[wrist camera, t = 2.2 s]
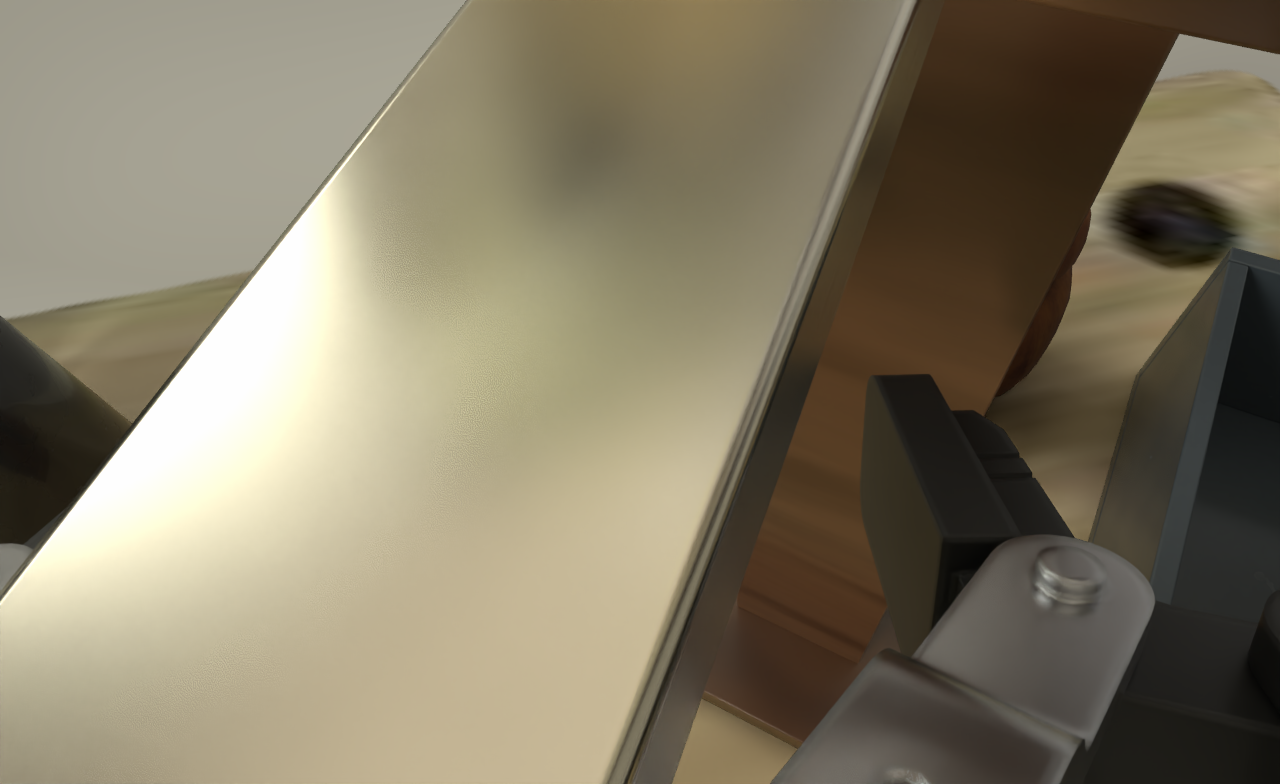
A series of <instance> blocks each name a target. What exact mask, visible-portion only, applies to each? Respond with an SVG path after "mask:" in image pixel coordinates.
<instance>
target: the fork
mask: <svg viewBox="0 0 1280 784" xmlns="http://www.w3.org/2000/svg"><path fill="white" fill-rule="evenodd" d="M944 2H945V0H466V1H465V3H464V4H463V5H462V7H461V8H460V9H459V10H458V12H457V13H456V14H455V16H454V17H453V18H452V19H451V20H450V22H449V23H448V24H447V26H446V27H445V28H444V29H443V31H442V32H441V33H440V34H439V36H438V37H437V38H436V40H435V41H434V42H433V43H432V45H431V46H430V47H429V48H428V50H427V51H426V52H425V54H424V55H423V56H422V57H421V58H420V60H419V61H418V62H417V64H416V65H415V66H414V67H413V69H412V70H411V71H410V73H409V74H408V75H407V76H406V78H405V79H404V80H403V82H402V83H401V84H400V85H399V86H398V88H397V89H396V90H395V92H394V93H393V94H392V95H391V97H390V98H389V99H388V101H387V102H386V103H385V104H384V105H383V107H382V108H381V109H380V110H379V112H378V113H377V114H376V116H375V117H374V118H373V120H372V121H371V122H370V123H369V124H368V126H367V127H366V128H365V130H364V131H363V132H362V133H361V135H360V136H359V137H358V138H357V140H356V141H355V142H354V143H353V145H352V146H351V148H350V149H349V150H348V151H347V152H346V154H345V155H344V156H343V158H342V159H341V160H340V161H339V162H338V164H337V165H336V166H335V168H334V169H333V170H332V171H331V173H330V174H329V175H328V176H327V178H326V179H325V180H324V181H323V183H322V184H321V185H320V187H319V188H318V189H317V190H316V192H315V193H314V194H313V195H312V197H311V198H310V199H309V201H308V202H307V203H306V205H305V206H304V207H303V208H302V209H301V211H300V212H299V213H298V214H297V216H296V217H295V218H294V220H293V221H292V222H291V223H290V225H289V226H288V227H287V228H286V230H285V231H284V232H283V233H282V235H281V236H280V237H279V239H278V240H277V241H276V243H275V244H274V245H273V246H272V247H271V249H270V250H269V251H268V253H267V254H266V255H265V256H264V258H263V259H262V260H261V261H260V263H259V264H258V265H257V266H256V268H255V269H254V270H253V272H252V273H251V274H250V275H249V277H248V278H247V279H246V280H245V282H244V283H243V284H242V285H241V287H240V288H239V289H238V291H237V292H236V293H235V294H234V296H233V297H232V298H231V299H230V301H229V302H228V303H227V304H226V306H225V307H224V308H223V310H222V311H221V312H220V313H219V315H218V316H217V317H216V318H215V320H214V321H213V322H212V324H211V325H210V326H209V327H208V329H207V330H206V331H205V332H204V334H203V335H202V336H201V337H200V339H199V340H198V341H197V343H196V344H195V345H194V346H193V348H192V349H191V350H190V351H189V353H188V354H187V355H186V356H185V358H184V359H183V360H182V362H181V363H180V364H179V365H178V367H177V368H176V369H175V370H174V372H173V373H172V374H171V375H170V377H169V378H168V379H167V381H166V382H165V383H164V384H163V386H162V387H161V388H160V389H159V391H158V392H157V393H156V395H155V396H154V397H153V398H152V400H151V401H150V402H149V403H148V405H147V406H146V407H145V408H144V410H143V411H142V412H141V414H140V415H139V416H138V417H137V419H136V420H135V421H134V422H133V424H132V425H131V426H130V427H129V429H128V430H127V431H126V433H125V434H124V435H123V436H122V438H121V439H120V440H119V441H118V443H117V444H116V445H115V446H114V448H113V449H112V450H111V452H110V453H109V454H108V455H107V457H106V458H105V459H104V460H103V462H102V463H101V464H100V466H99V467H98V468H97V469H96V471H95V472H94V473H93V474H92V476H91V477H90V478H89V479H88V481H87V482H86V483H85V485H84V486H83V487H82V488H81V490H80V491H79V492H78V493H77V495H76V496H75V497H74V498H73V500H72V501H71V502H70V504H69V505H68V506H67V507H66V509H65V510H64V511H63V512H62V514H61V515H60V516H59V518H58V519H57V520H56V521H55V523H54V524H53V525H52V526H51V528H50V529H49V530H48V531H47V533H46V534H45V535H44V537H43V538H42V539H41V540H40V542H39V543H38V544H37V545H36V547H35V548H34V549H33V550H32V552H31V553H30V554H29V556H28V557H27V558H26V559H25V561H24V562H23V563H22V564H21V566H20V567H19V568H18V569H17V571H16V572H15V573H14V575H13V576H12V577H11V578H10V580H9V581H8V582H7V583H6V585H5V586H4V587H3V589H2V590H1V591H0V784H672V781H673V778H674V776H675V773H676V770H677V767H678V764H679V761H680V758H681V755H682V753H683V750H684V747H685V744H686V741H687V738H688V735H689V733H690V730H691V727H692V724H693V721H694V718H695V715H696V713H697V710H698V707H699V704H700V701H701V698H702V695H703V692H704V690H705V687H706V684H707V681H708V678H709V675H710V672H711V670H712V667H713V664H714V661H715V658H716V655H717V652H718V650H719V647H720V644H721V641H722V638H723V635H724V632H725V629H726V627H727V624H728V621H729V618H730V615H731V612H732V609H733V607H734V604H735V601H736V598H737V595H738V592H739V589H740V586H741V584H742V581H743V578H744V575H745V572H746V569H747V566H748V564H749V561H750V558H751V555H752V552H753V549H754V546H755V544H756V541H757V538H758V535H759V532H760V529H761V526H762V523H763V521H764V518H765V515H766V512H767V509H768V506H769V503H770V501H771V498H772V495H773V492H774V489H775V486H776V483H777V481H778V478H779V475H780V472H781V469H782V466H783V463H784V460H785V458H786V455H787V452H788V449H789V446H790V443H791V440H792V438H793V435H794V432H795V429H796V426H797V423H798V420H799V418H800V415H801V412H802V409H803V406H804V403H805V400H806V397H807V395H808V392H809V389H810V386H811V383H812V380H813V377H814V375H815V372H816V369H817V366H818V363H819V360H820V357H821V355H822V352H823V349H824V346H825V343H826V340H827V337H828V334H829V332H830V329H831V326H832V323H833V320H834V317H835V314H836V312H837V309H838V306H839V303H840V300H841V297H842V294H843V292H844V289H845V286H846V283H847V280H848V277H849V274H850V271H851V269H852V266H853V263H854V260H855V257H856V254H857V251H858V249H859V246H860V243H861V240H862V237H863V234H864V231H865V229H866V226H867V223H868V220H869V217H870V214H871V211H872V208H873V206H874V203H875V200H876V197H877V194H878V191H879V188H880V186H881V183H882V180H883V177H884V174H885V171H886V168H887V166H888V163H889V160H890V157H891V154H892V151H893V148H894V145H895V143H896V140H897V137H898V134H899V131H900V128H901V125H902V123H903V120H904V117H905V114H906V111H907V108H908V105H909V103H910V100H911V97H912V94H913V91H914V88H915V85H916V82H917V80H918V77H919V74H920V71H921V68H922V65H923V62H924V60H925V57H926V54H927V51H928V48H929V45H930V42H931V40H932V37H933V34H934V31H935V28H936V25H937V22H938V19H939V17H940V14H941V11H942V8H943V5H944Z"/></svg>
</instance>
